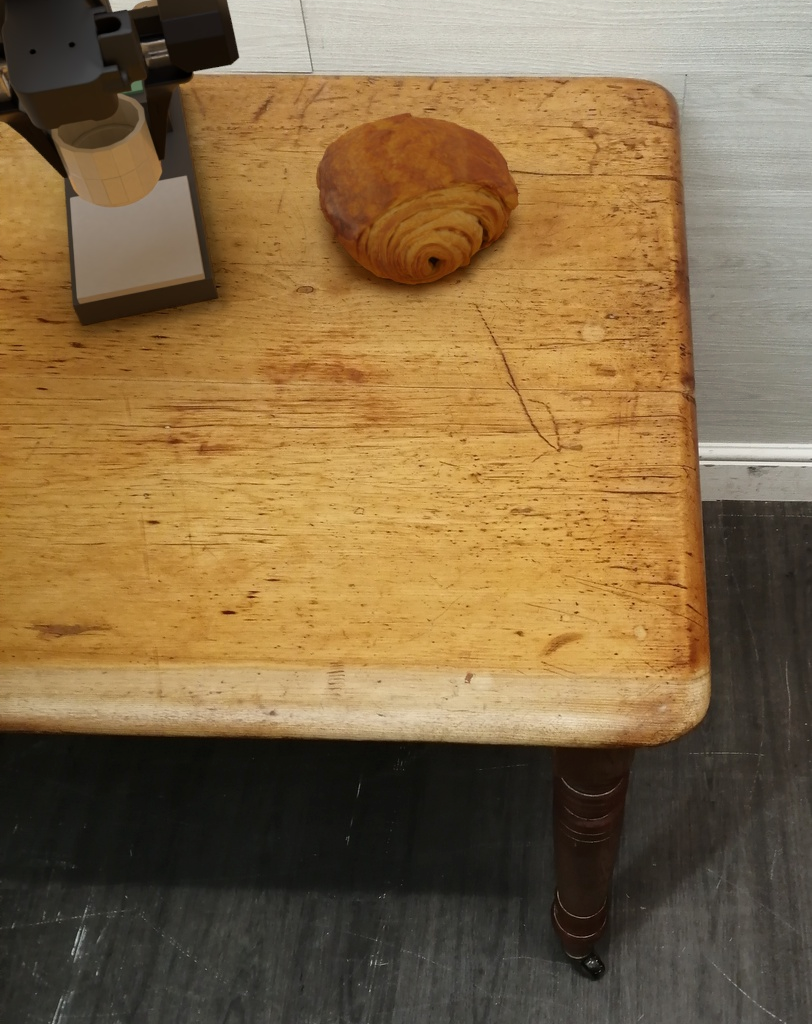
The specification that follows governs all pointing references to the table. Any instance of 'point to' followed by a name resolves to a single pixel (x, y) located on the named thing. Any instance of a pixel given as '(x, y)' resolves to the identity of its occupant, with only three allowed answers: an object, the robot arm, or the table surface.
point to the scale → (142, 238)
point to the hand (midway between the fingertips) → (114, 165)
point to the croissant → (415, 196)
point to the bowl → (110, 156)
